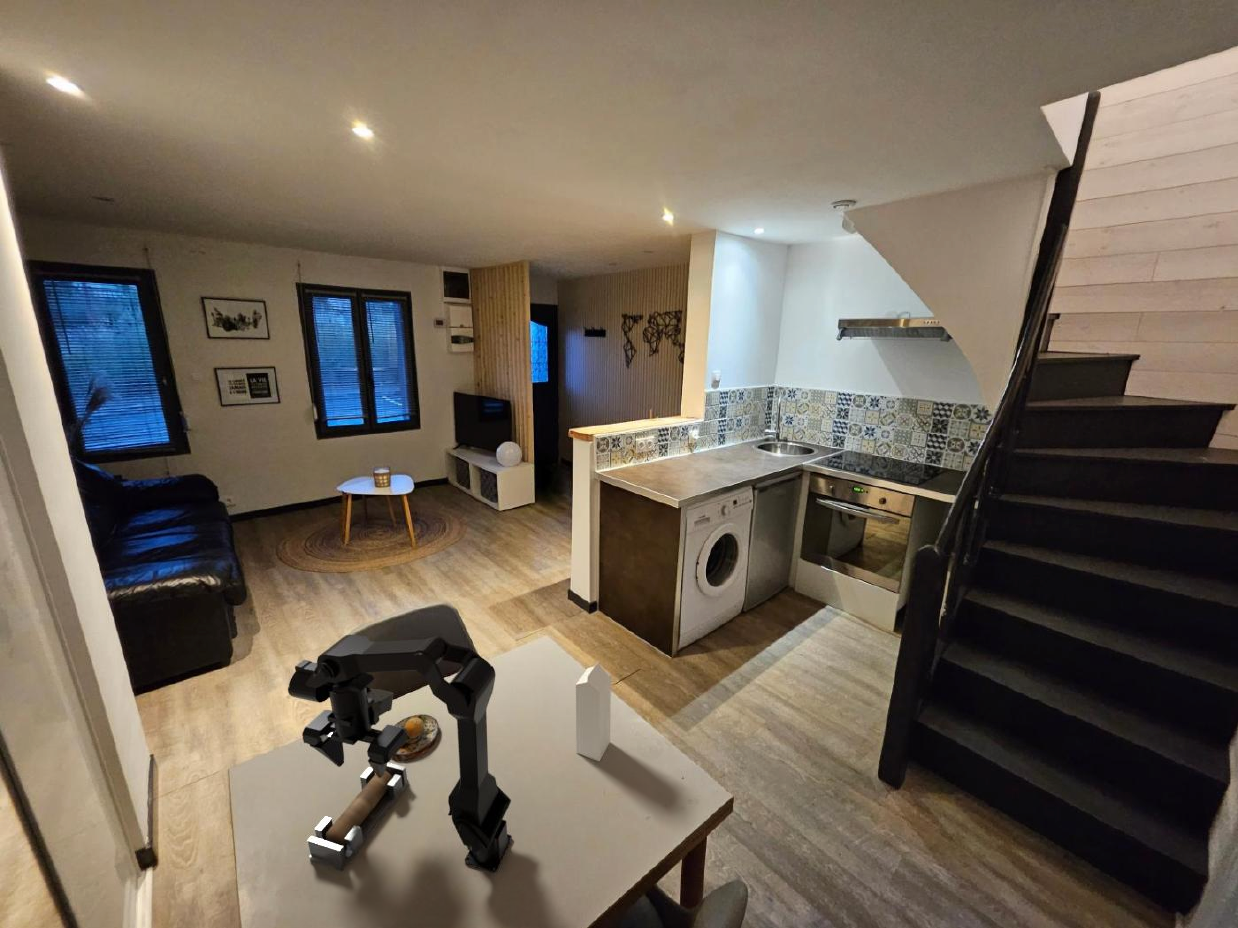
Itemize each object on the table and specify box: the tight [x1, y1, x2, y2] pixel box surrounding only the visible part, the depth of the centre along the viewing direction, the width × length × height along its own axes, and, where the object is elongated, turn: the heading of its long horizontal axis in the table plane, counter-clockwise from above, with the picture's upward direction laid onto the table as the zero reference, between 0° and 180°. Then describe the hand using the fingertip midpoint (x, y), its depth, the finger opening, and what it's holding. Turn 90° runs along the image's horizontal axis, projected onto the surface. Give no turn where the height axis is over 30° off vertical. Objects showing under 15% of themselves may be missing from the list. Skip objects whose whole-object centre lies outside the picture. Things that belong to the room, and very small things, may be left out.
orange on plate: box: [393, 713, 441, 761], centre depth 112 cm, size 12×12×8 cm
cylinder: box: [326, 771, 392, 846], centre depth 93 cm, size 13×4×4 cm, turn 166°
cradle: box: [307, 761, 409, 872], centre depth 94 cm, size 8×18×4 cm, turn 166°
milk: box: [575, 660, 612, 762], centre depth 108 cm, size 6×6×22 cm
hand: (361, 770), depth 91 cm, fingers open, 9 cm apart
